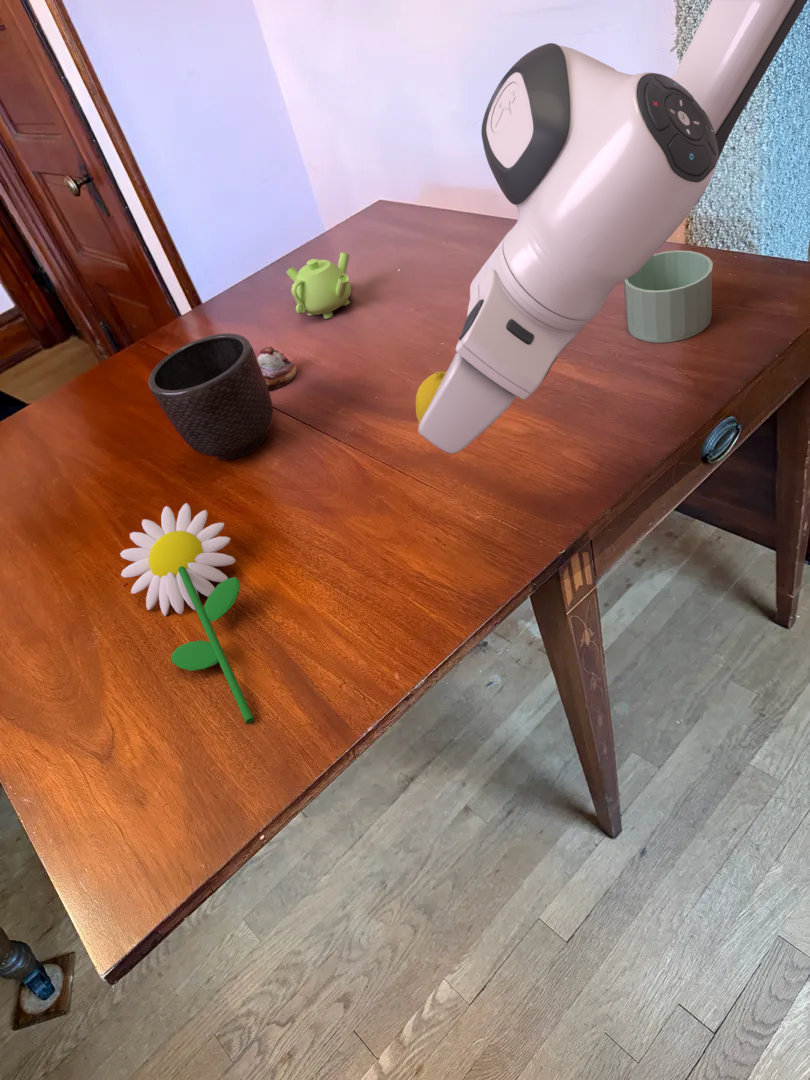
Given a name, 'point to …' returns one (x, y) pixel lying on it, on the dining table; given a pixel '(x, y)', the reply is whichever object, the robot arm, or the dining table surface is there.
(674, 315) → the cup
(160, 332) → the dining table surface
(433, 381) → the lemon
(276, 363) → the pastry
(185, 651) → the decorative flower
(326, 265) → the teapot
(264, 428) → the planter
